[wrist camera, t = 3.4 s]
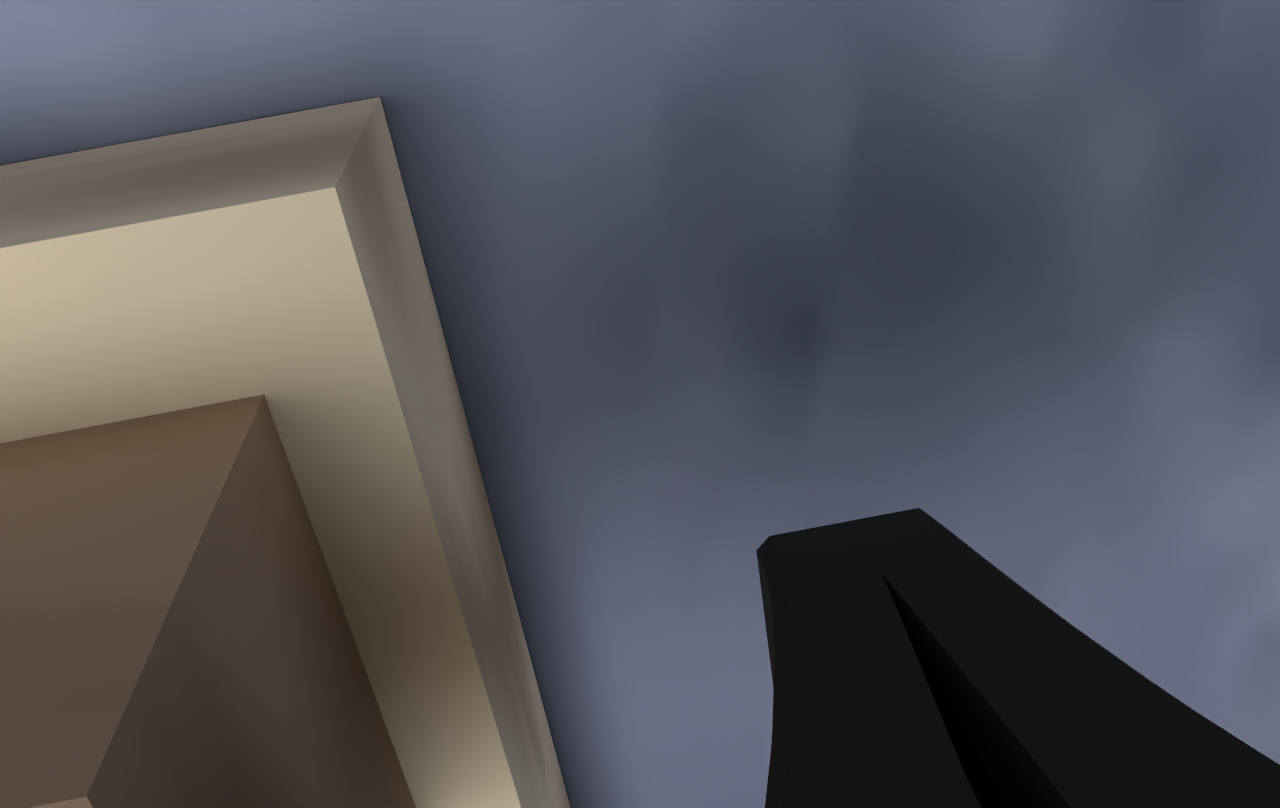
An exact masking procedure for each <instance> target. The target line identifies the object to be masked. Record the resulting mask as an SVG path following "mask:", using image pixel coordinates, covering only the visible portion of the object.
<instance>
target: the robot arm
mask: <svg viewBox="0 0 1280 808" xmlns="http://www.w3.org/2000/svg"><path fill="white" fill-rule="evenodd" d="M757 558H758V566H759V574H760V582H761V590H762V598H763V606H764V614H765V622H766V630H767V638H768V646H769V654H770V662H771V670H772V679H773V687H774V695H773V730H772V745H771V757H770V766H769V775H768V784H767V794H766V803H765V808H1280V765H1279V764H1277V763H1276V762H1274V761H1272V760H1271V759H1269V758H1268V757H1266V756H1265V755H1263V754H1261V753H1260V752H1258V751H1257V750H1255V749H1254V748H1252V747H1250V746H1249V745H1247V744H1246V743H1244V742H1243V741H1241V740H1239V739H1238V738H1236V737H1235V736H1233V735H1232V734H1230V733H1228V732H1227V731H1225V730H1224V729H1222V728H1221V727H1219V726H1217V725H1216V724H1214V723H1213V722H1211V721H1210V720H1208V719H1206V718H1205V717H1203V716H1202V715H1200V714H1199V713H1197V712H1196V711H1194V710H1193V709H1191V708H1190V707H1188V706H1187V705H1185V704H1184V703H1182V702H1181V701H1179V700H1178V699H1176V698H1175V697H1173V696H1172V695H1170V694H1169V693H1167V692H1166V691H1164V690H1163V689H1162V688H1160V687H1159V686H1157V685H1156V684H1154V683H1153V682H1151V681H1150V680H1148V679H1147V678H1146V677H1144V676H1143V675H1141V674H1140V673H1139V672H1137V671H1136V670H1134V669H1133V668H1131V667H1130V666H1129V665H1127V664H1126V663H1124V662H1123V661H1122V660H1120V659H1119V658H1117V657H1116V656H1115V655H1113V654H1112V653H1110V652H1109V651H1108V650H1106V649H1105V648H1103V647H1102V646H1101V645H1099V644H1098V643H1096V642H1095V641H1094V640H1092V639H1091V638H1089V637H1088V636H1087V635H1085V634H1084V633H1082V632H1081V631H1080V630H1078V629H1077V628H1075V627H1074V626H1073V625H1071V624H1070V623H1069V622H1067V621H1066V620H1065V619H1063V618H1062V617H1061V616H1059V615H1058V614H1056V613H1055V612H1054V611H1052V610H1051V609H1050V608H1048V607H1047V606H1046V605H1044V604H1043V603H1042V602H1040V601H1039V600H1038V599H1037V598H1035V597H1034V596H1033V595H1031V594H1030V593H1029V592H1027V591H1026V590H1025V589H1023V588H1022V587H1021V586H1020V585H1018V584H1017V583H1016V582H1014V581H1013V580H1012V579H1010V578H1009V577H1008V576H1006V575H1005V574H1004V573H1003V572H1001V571H1000V570H999V569H997V568H996V567H995V566H994V565H992V564H991V563H990V562H989V561H987V560H986V559H985V558H983V557H982V556H981V555H980V554H978V553H977V552H976V551H974V550H973V549H972V548H971V547H969V546H968V545H967V544H966V543H964V542H963V541H962V540H960V539H959V538H958V537H957V536H955V535H954V534H953V533H952V532H950V531H949V530H948V529H946V528H945V527H944V526H943V525H941V524H940V523H939V522H937V521H936V520H935V519H933V518H932V517H931V516H929V515H928V514H927V513H925V512H924V511H922V510H921V509H920V508H916V509H911V510H906V511H900V512H895V513H890V514H885V515H879V516H874V517H869V518H863V519H858V520H853V521H847V522H842V523H837V524H832V525H826V526H821V527H816V528H810V529H805V530H800V531H794V532H789V533H784V534H779V535H773V536H769V537H768V538H767V539H766V541H765V542H764V543H763V544H762V545H761V546H760V547H759V548H758V550H757Z"/></svg>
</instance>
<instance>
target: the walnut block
mask: <svg viewBox="0 0 1280 808" xmlns="http://www.w3.org/2000/svg"><path fill="white" fill-rule="evenodd" d="M0 808H416V806H415V803H414V801H413V798H412V795H411V792H410V790H409V787H408V784H407V782H406V779H405V776H404V773H403V771H402V768H401V765H400V763H399V760H398V757H397V754H396V752H395V749H394V746H393V744H392V741H391V738H390V735H389V733H388V730H387V727H386V725H385V722H384V719H383V716H382V714H381V711H380V708H379V706H378V703H377V700H376V697H375V695H374V692H373V689H372V686H371V684H370V681H369V678H368V676H367V673H366V670H365V667H364V665H363V662H362V659H361V657H360V654H359V651H358V648H357V646H356V643H355V640H354V638H353V635H352V632H351V629H350V627H349V624H348V621H347V619H346V616H345V613H344V610H343V608H342V605H341V602H340V600H339V597H338V594H337V591H336V589H335V586H334V583H333V581H332V578H331V575H330V572H329V570H328V567H327V564H326V562H325V559H324V556H323V553H322V551H321V548H320V545H319V543H318V540H317V537H316V534H315V532H314V529H313V526H312V523H311V521H310V518H309V515H308V513H307V510H306V507H305V504H304V502H303V499H302V496H301V494H300V491H299V488H298V485H297V483H296V480H295V477H294V475H293V472H292V469H291V466H290V464H289V461H288V458H287V456H286V453H285V450H284V447H283V445H282V442H281V439H280V437H279V434H278V431H277V428H276V426H275V423H274V420H273V418H272V415H271V412H270V409H269V407H268V404H267V401H266V399H265V396H264V394H263V395H258V396H253V397H247V398H242V399H236V400H231V401H226V402H220V403H215V404H210V405H204V406H199V407H193V408H188V409H183V410H177V411H172V412H167V413H161V414H156V415H150V416H145V417H140V418H134V419H129V420H124V421H118V422H113V423H107V424H102V425H97V426H91V427H86V428H80V429H75V430H70V431H64V432H59V433H54V434H48V435H43V436H37V437H32V438H27V439H21V440H16V441H11V442H5V443H0Z"/></svg>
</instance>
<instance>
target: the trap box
mask: <svg viewBox="0 0 1280 808" xmlns="http://www.w3.org/2000/svg"><path fill="white" fill-rule="evenodd" d="M263 394H264V396H265V399H266V401H267V404H268V407H269V409H270V412H271V415H272V418H273V420H274V423H275V426H276V428H277V431H278V434H279V437H280V439H281V442H282V445H283V447H284V450H285V453H286V456H287V458H288V461H289V464H290V466H291V469H292V472H293V475H294V477H295V480H296V483H297V485H298V488H299V491H300V494H301V496H302V499H303V502H304V504H305V507H306V510H307V513H308V515H309V518H310V521H311V523H312V526H313V529H314V532H315V534H316V537H317V540H318V543H319V545H320V548H321V551H322V553H323V556H324V559H325V562H326V564H327V567H328V570H329V572H330V575H331V578H332V581H333V583H334V586H335V589H336V591H337V594H338V597H339V600H340V602H341V605H342V608H343V610H344V613H345V616H346V619H347V621H348V624H349V627H350V629H351V632H352V635H353V638H354V640H355V643H356V646H357V648H358V651H359V654H360V657H361V659H362V662H363V665H364V667H365V670H366V673H367V676H368V678H369V681H370V684H371V686H372V689H373V692H374V695H375V697H376V700H377V703H378V706H379V708H380V711H381V714H382V716H383V719H384V722H385V725H386V727H387V730H388V733H389V735H390V738H391V741H392V744H393V746H394V749H395V752H396V754H397V757H398V760H399V763H400V765H401V768H402V771H403V773H404V776H405V779H406V782H407V784H408V787H409V790H410V792H411V795H412V798H413V801H414V803H415V806H416V808H570V804H569V800H568V797H567V793H566V789H565V785H564V782H563V778H562V774H561V770H560V767H559V763H558V759H557V755H556V752H555V748H554V744H553V741H552V737H551V733H550V729H549V726H548V722H547V718H546V714H545V711H544V707H543V703H542V700H541V696H540V692H539V688H538V685H537V681H536V677H535V673H534V670H533V666H532V662H531V658H530V655H529V651H528V647H527V644H526V640H525V636H524V632H523V629H522V625H521V621H520V617H519V614H518V610H517V606H516V603H515V599H514V595H513V591H512V588H511V584H510V580H509V576H508V573H507V569H506V565H505V561H504V558H503V554H502V550H501V547H500V543H499V539H498V535H497V532H496V528H495V524H494V520H493V517H492V513H491V509H490V505H489V502H488V498H487V494H486V491H485V487H484V483H483V479H482V476H481V472H480V468H479V464H478V461H477V457H476V453H475V450H474V446H473V442H472V438H471V435H470V431H469V427H468V423H467V420H466V416H465V412H464V408H463V405H462V401H461V397H460V394H459V390H458V386H457V382H456V379H455V375H454V371H453V367H452V364H451V360H450V356H449V352H448V349H447V345H446V341H445V338H444V334H443V330H442V326H441V323H440V319H439V315H438V311H437V308H436V304H435V300H434V297H433V293H432V289H431V285H430V282H429V278H428V274H427V270H426V267H425V263H424V259H423V255H422V252H421V248H420V244H419V241H418V237H417V233H416V229H415V226H414V222H413V218H412V214H411V211H410V207H409V203H408V200H407V196H406V192H405V188H404V185H403V181H402V177H401V173H400V170H399V166H398V162H397V158H396V155H395V151H394V147H393V144H392V140H391V136H390V132H389V129H388V125H387V121H386V117H385V114H384V110H383V106H382V102H381V99H380V97H376V98H371V99H365V100H360V101H354V102H349V103H343V104H338V105H332V106H327V107H321V108H316V109H310V110H305V111H299V112H294V113H288V114H282V115H277V116H271V117H266V118H260V119H255V120H249V121H244V122H238V123H233V124H227V125H222V126H216V127H211V128H205V129H200V130H194V131H189V132H183V133H178V134H172V135H166V136H161V137H155V138H150V139H144V140H139V141H133V142H128V143H122V144H117V145H111V146H106V147H100V148H95V149H89V150H84V151H78V152H73V153H67V154H61V155H56V156H50V157H45V158H39V159H34V160H28V161H23V162H17V163H12V164H6V165H1V166H0V443H5V442H11V441H16V440H21V439H27V438H32V437H37V436H43V435H48V434H54V433H59V432H64V431H70V430H75V429H80V428H86V427H91V426H97V425H102V424H107V423H113V422H118V421H124V420H129V419H134V418H140V417H145V416H150V415H156V414H161V413H167V412H172V411H177V410H183V409H188V408H193V407H199V406H204V405H210V404H215V403H220V402H226V401H231V400H236V399H242V398H247V397H253V396H258V395H263Z"/></svg>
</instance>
